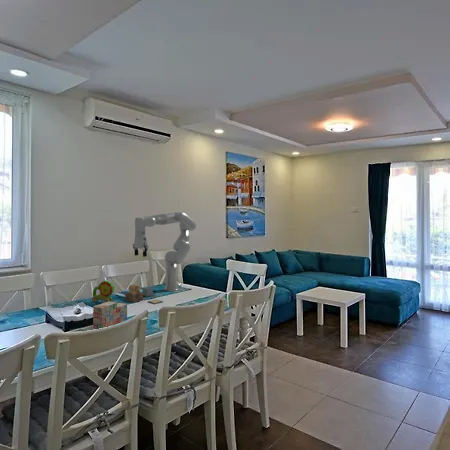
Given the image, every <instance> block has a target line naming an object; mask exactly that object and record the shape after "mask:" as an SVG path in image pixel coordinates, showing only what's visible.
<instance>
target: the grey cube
mask: <svg viewBox="0 0 450 450" xmlns="http://www.w3.org/2000/svg"><path fill="white" fill-rule="evenodd" d="M141 293H143V297H152V296H154V288H153V287H150V286H149V287H142V292H141Z"/></svg>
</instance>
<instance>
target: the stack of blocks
mask: <svg viewBox="0 0 450 450" xmlns="http://www.w3.org/2000/svg"><path fill="white" fill-rule="evenodd" d="M92 309H93V311H92V328H93V329H95V328H103V327H107V328H109V327H108V326H110V327H112V326H115V325H116V324H118V323H121V322H124V321H127V320H128V304H127V303H124V302H123V303H121V302H115V301H111V302H110V301H108V302H105V303H104V302H103V303H100V304H96V305H94V306H93V308H92ZM111 325H112V326H111Z"/></svg>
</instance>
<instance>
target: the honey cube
mask: <svg viewBox="0 0 450 450" xmlns="http://www.w3.org/2000/svg"><path fill="white" fill-rule="evenodd" d="M128 293H130V294H133V295H134V294H139V293H141V285H139V284H131V285H128Z"/></svg>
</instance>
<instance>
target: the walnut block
mask: <svg viewBox="0 0 450 450" xmlns="http://www.w3.org/2000/svg"><path fill="white" fill-rule="evenodd" d="M124 295H125V297H124V298H125V299H124V300H125V301H127V302H130V303H136V302H137V303H138V302H141V301H144V296H143V293H142V292H140V293H139V294H134V295H133V294H130V293H129V292H125V294H124Z"/></svg>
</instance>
